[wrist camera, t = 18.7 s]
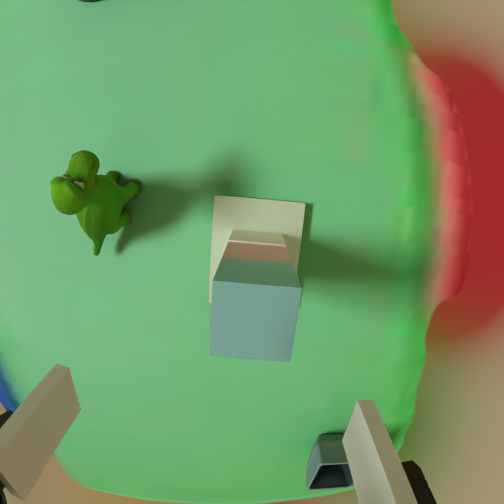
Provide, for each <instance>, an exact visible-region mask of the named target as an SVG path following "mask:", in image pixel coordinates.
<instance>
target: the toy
mask: <svg viewBox="0 0 504 504" xmlns="http://www.w3.org/2000/svg"><path fill="white" fill-rule="evenodd" d="M98 169H99V160H98V158H97V156H96V155H95V154H93V153H92V152H89V151H85V150H83V151H79V152H77V153H74V154H73V155H72V158H71V160H70V163H69V167H68V170H67V172H66V173H65V174H64V175H61V176H59V177H56V178H54V179H52V180H51V195H52V200H53V203H54V205H55V207H56V208H57V209H58V210H59V211H60V212H62V213H64V214H67V215H72V214H76V213H77V217H78V220H79V223H80V225H81V227H82V228H83V230H84V231H85V233H86V234H87V235H88V236H89V237H90V238H91V239H92V240H93V243H94V250H93V251H94V255H96V256H97V255H98V254H99V253H100V250H101V246H102V244H103V241H104V239H105V236H106V235H107V234H113V233H115V232H117V231H118V230H119V229H120V228H121V227H122V226H127V225H129V224H130V222H131V221H132V220H133V218H132V214H131V213H130V211H129V210H127V209H124V210H122V207H123V205H124V203H125V202H126V201H127V200H129V199H130V198H131V197H132V196H137V195H138V194H139V192H140V190H141V187H142V185H141V183H140V182H139V181H138V180H137V179H131V180H130V181H129V183H128V184H127V185H126V186H125V187H123V188H122V187H120V186H119V185H118V182H119V174H118V172H117V171H109V172H108V173H107V174H106V175H96V174H97V172H98Z"/></svg>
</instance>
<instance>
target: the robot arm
mask: <svg viewBox="0 0 504 504" xmlns="http://www.w3.org/2000/svg"><path fill="white" fill-rule="evenodd" d="M79 1H83V2H94V1H99V0H79ZM80 410H81V407H80V404H79V401H78V398H77V394H76V391H75V388H74V384H73V380H72V377H71V373H70V369H69V367H65V366H62V365H59V364H56V365H55V366H54V367H53V368H52V370H51V371H50V372H49V373H48V374H47V375H46V376H45V377H44V378H43V380H42V381H41V382H40V383H39V384H38V385H37V386H36V387H35V389H34V390H33V391H32V392H31V393H30V394H29V395H28V396H27V398H26V399H25V400H24V401H23V402H22V403H21V405H20V406H19V407H18V408H17V409H16V410H15V412H12V411H10V410H9V411H7V412H5V413H4V414H2V415H0V504H7V502H6V497H5V494H4V492H3V489H4V487H6V488H7V490H8V491H9V492H10V493H11V494H12V495H14V496H16V497H17V498H20V499H21V500H23V501H25V499H26V498H27V496H28V495H29V492H30V491H31V489H32V488H33V486H34V484H35V482H36V481H37V479H38V477H39V476H40V474H41V472H42V471H43V469H44V467H45V466H46V464H47V462H48V461H49V459H50V457H51V456H52V454H53V453H54V451H55V449H56V448H57V446H58V445H59V443H60V441H61V440H62V438H63V437H64V435H65V434H66V432H67V430H68V429H69V427H70V426H71V424H72V423H73V421H74V420H75V418H76V416H77V415H78V413H79V412H80ZM342 442H343V446H344V449H345V453H346V456H347V460H348V464H349V467H350V471H351V475H352V479H353V482H354V486H355V490H356V493H357V497H358V501H359V504H437V503H436V501H435V499H434V497H433V495H432V492H431V490H430V488H429V487H428V483H427V481H426V480H425V477H424V475H423V473H422V470H421V468H420V467H419V466H418V465H417V464H416V463H415V462H414V461H412V460H411V461H406V462H402V463H401V462H400V459H399V457H398V455H397V452H396V450H395V448H394V445H393V443H392V441H391V438H390V436H389V434H388V432H387V429H386V427H385V425H384V423H383V420H382V418H381V416H380V414H379V412H378V409H377V407H376V405H375V403H374V401H373V400H359V401H357V403H356V406H355V409H354V411H353V414H352V417H351V419H350V422H349V424H348V427H347V429H346V432H345V434H344V437H343V439H342Z"/></svg>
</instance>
